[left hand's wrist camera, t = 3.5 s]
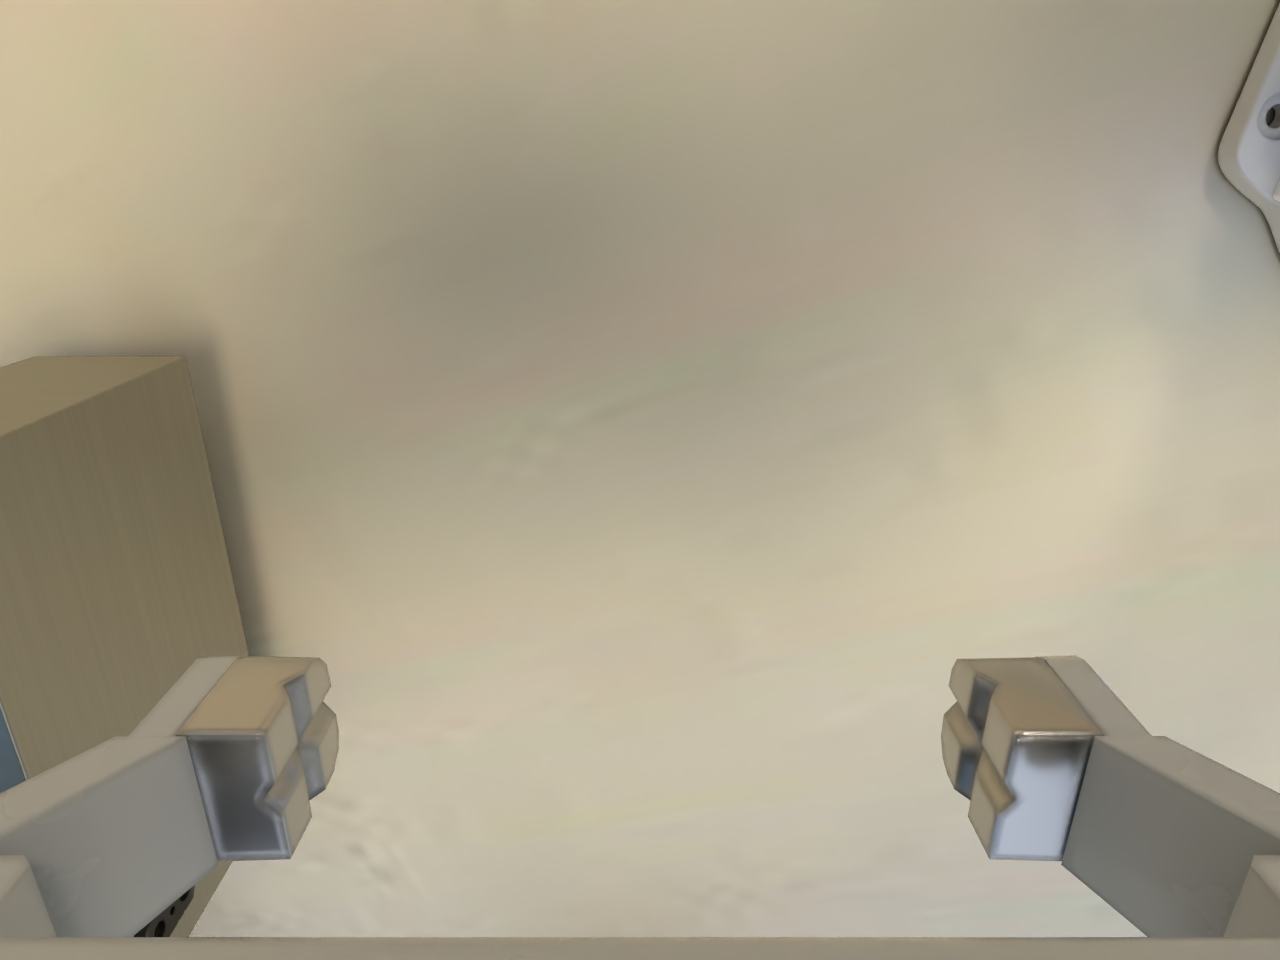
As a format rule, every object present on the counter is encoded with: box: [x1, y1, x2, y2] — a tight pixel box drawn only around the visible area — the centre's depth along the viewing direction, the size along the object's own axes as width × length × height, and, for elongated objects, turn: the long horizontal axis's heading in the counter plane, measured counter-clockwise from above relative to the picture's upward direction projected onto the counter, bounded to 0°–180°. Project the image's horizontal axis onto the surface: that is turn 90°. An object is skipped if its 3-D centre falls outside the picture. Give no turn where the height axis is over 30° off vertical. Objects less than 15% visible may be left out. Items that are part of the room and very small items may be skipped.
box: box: [0, 356, 249, 937], centre depth 30 cm, size 21×6×13 cm, turn 0°
